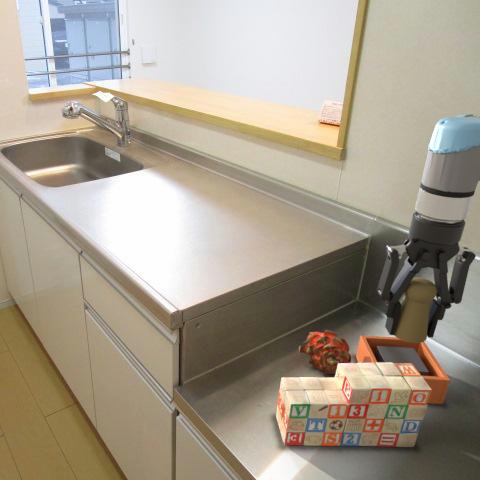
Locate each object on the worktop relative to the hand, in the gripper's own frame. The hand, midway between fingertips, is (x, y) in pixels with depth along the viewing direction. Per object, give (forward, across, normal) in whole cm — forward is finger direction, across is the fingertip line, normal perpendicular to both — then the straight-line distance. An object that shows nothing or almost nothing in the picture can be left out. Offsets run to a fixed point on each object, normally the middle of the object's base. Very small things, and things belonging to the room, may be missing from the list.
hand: (408, 331), depth 83 cm
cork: (0, 0, 0) cm, 0 cm away
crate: (+11, 0, 0) cm, 11 cm away
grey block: (+11, 0, 0) cm, 11 cm away
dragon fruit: (+11, +13, -3) cm, 18 cm away
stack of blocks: (+11, +14, +14) cm, 23 cm away
